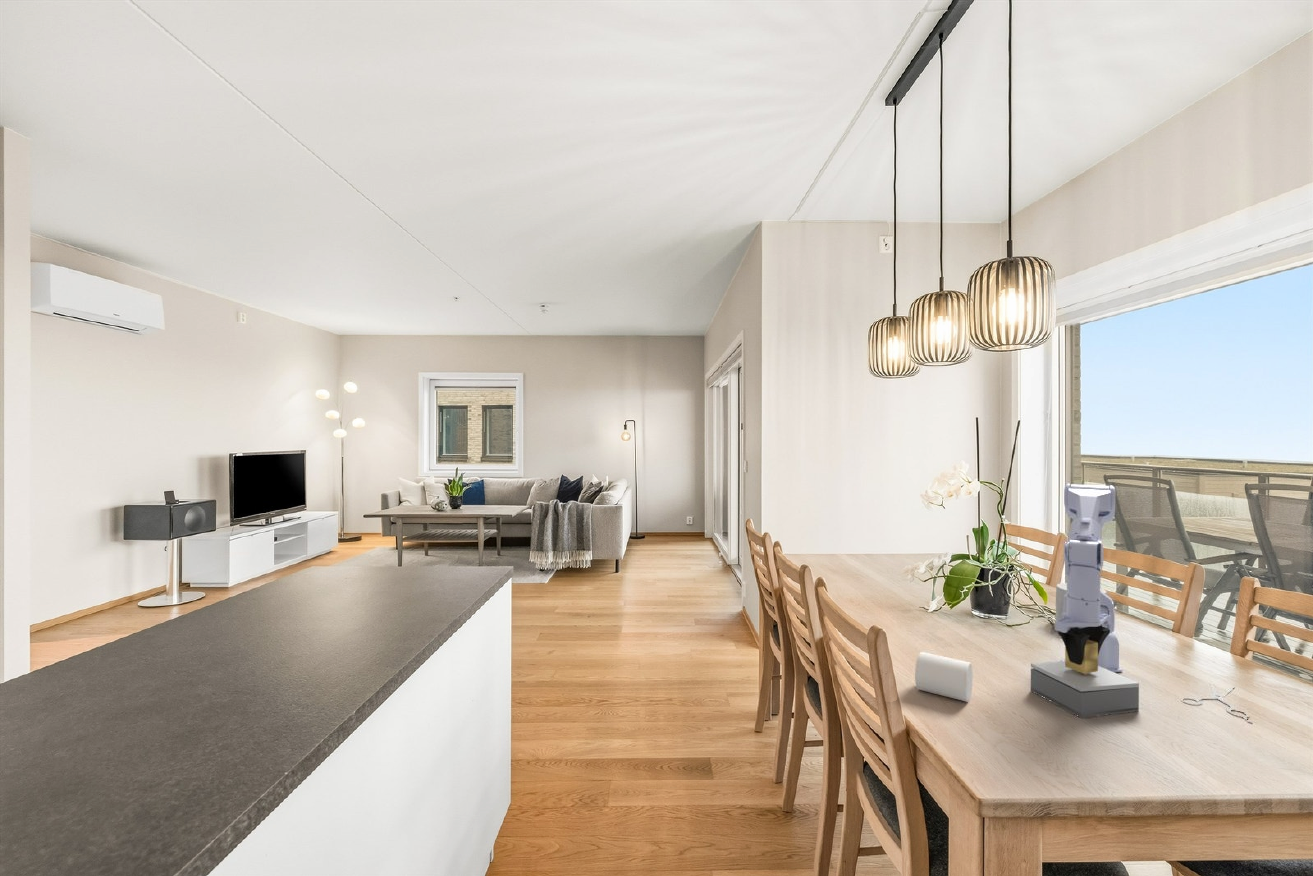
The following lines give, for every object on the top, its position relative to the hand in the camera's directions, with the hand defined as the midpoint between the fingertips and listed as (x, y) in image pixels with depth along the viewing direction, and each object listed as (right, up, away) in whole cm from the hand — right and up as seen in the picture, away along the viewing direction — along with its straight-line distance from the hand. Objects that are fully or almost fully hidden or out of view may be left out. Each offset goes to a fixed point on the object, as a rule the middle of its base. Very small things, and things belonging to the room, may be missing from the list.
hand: (1082, 661), depth 120 cm
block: (0, -2, 0) cm, 2 cm away
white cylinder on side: (-26, -9, +5) cm, 28 cm away
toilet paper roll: (+32, -8, +44) cm, 55 cm away
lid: (0, -3, 0) cm, 3 cm away
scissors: (+30, -9, +1) cm, 31 cm away
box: (0, -8, 0) cm, 8 cm away
